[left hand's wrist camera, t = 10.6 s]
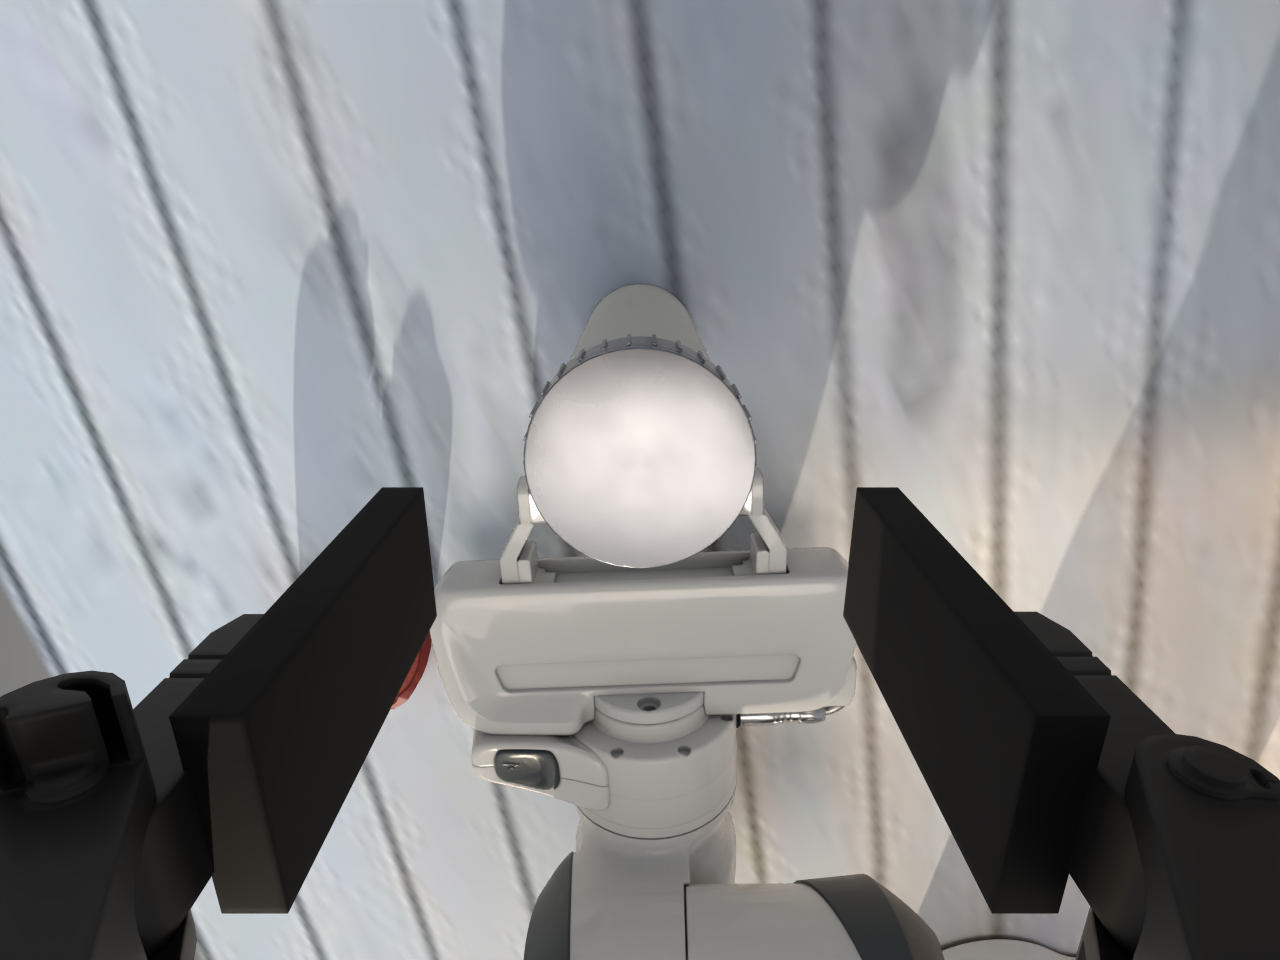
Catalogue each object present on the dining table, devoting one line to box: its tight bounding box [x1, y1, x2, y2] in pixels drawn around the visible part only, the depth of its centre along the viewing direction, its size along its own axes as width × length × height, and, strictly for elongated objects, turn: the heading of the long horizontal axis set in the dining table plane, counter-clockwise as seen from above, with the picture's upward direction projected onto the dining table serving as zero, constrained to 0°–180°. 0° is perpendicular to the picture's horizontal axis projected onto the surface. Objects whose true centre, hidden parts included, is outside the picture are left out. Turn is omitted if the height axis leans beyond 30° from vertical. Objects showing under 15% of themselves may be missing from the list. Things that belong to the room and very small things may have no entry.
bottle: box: [569, 284, 711, 362], centre depth 28 cm, size 6×6×19 cm
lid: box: [523, 334, 757, 568], centre depth 20 cm, size 6×6×2 cm
